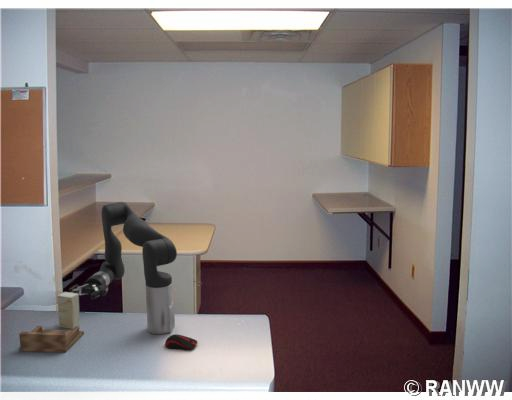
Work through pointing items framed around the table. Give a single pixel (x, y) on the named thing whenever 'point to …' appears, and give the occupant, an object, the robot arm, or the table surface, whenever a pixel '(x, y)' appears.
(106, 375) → the table surface
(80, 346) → the table surface
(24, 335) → the tray
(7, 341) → the table surface
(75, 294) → the skincare box
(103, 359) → the table surface
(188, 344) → the computer mouse
